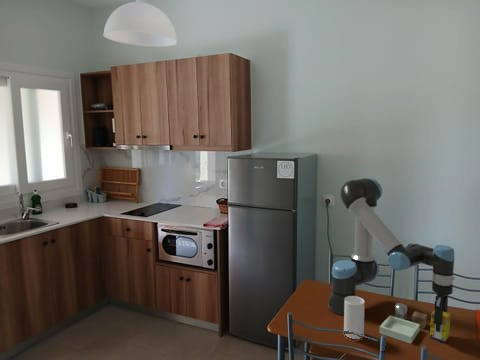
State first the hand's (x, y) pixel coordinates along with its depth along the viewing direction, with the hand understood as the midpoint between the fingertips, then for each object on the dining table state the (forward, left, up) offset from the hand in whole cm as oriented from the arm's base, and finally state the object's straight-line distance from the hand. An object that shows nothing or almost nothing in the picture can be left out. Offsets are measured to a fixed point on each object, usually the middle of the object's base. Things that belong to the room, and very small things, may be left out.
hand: (439, 334), depth 152 cm
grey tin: (-18, +5, -2) cm, 18 cm away
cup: (-29, -21, -2) cm, 36 cm away
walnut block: (-10, +5, -2) cm, 11 cm away
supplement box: (0, 0, -2) cm, 2 cm away
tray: (-15, -6, -1) cm, 16 cm away
